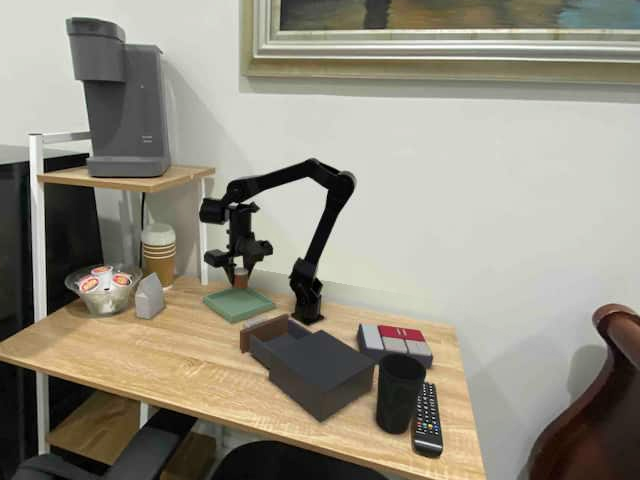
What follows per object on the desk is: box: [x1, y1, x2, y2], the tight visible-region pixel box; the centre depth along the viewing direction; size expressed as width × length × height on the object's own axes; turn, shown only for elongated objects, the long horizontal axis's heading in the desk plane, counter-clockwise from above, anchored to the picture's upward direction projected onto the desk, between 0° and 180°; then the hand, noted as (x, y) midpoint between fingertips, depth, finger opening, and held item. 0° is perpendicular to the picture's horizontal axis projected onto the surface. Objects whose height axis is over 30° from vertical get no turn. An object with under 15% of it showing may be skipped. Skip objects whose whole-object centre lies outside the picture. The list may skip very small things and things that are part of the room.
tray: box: [202, 285, 276, 324], centre depth 108 cm, size 14×14×2 cm
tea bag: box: [134, 271, 165, 320], centre depth 100 cm, size 4×7×10 cm, turn 164°
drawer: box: [239, 313, 313, 369], centre depth 87 cm, size 18×13×5 cm
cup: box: [375, 353, 428, 435], centre depth 67 cm, size 8×8×12 cm
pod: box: [230, 267, 249, 289], centre depth 105 cm, size 4×4×4 cm
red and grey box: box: [356, 323, 434, 370], centre depth 90 cm, size 11×4×15 cm
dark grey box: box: [268, 328, 377, 423], centre depth 77 cm, size 15×15×7 cm
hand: (239, 282), depth 105 cm, fingers closed on pod, 4 cm apart
